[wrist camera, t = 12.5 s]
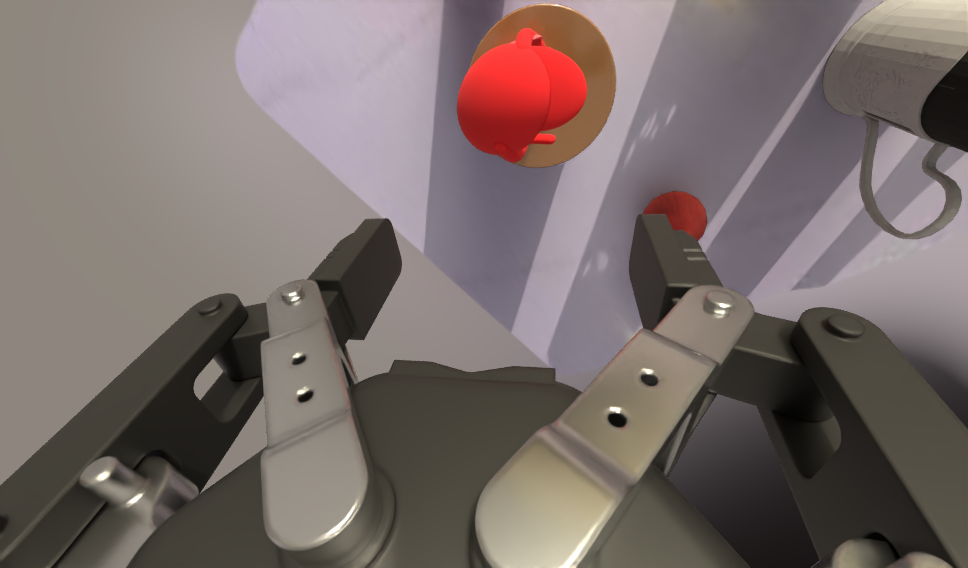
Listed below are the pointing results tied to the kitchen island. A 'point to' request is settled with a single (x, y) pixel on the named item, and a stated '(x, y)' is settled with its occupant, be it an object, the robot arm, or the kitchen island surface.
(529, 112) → the cap
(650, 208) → the onion
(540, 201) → the kitchen island surface
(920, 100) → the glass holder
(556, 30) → the jar
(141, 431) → the robot arm
